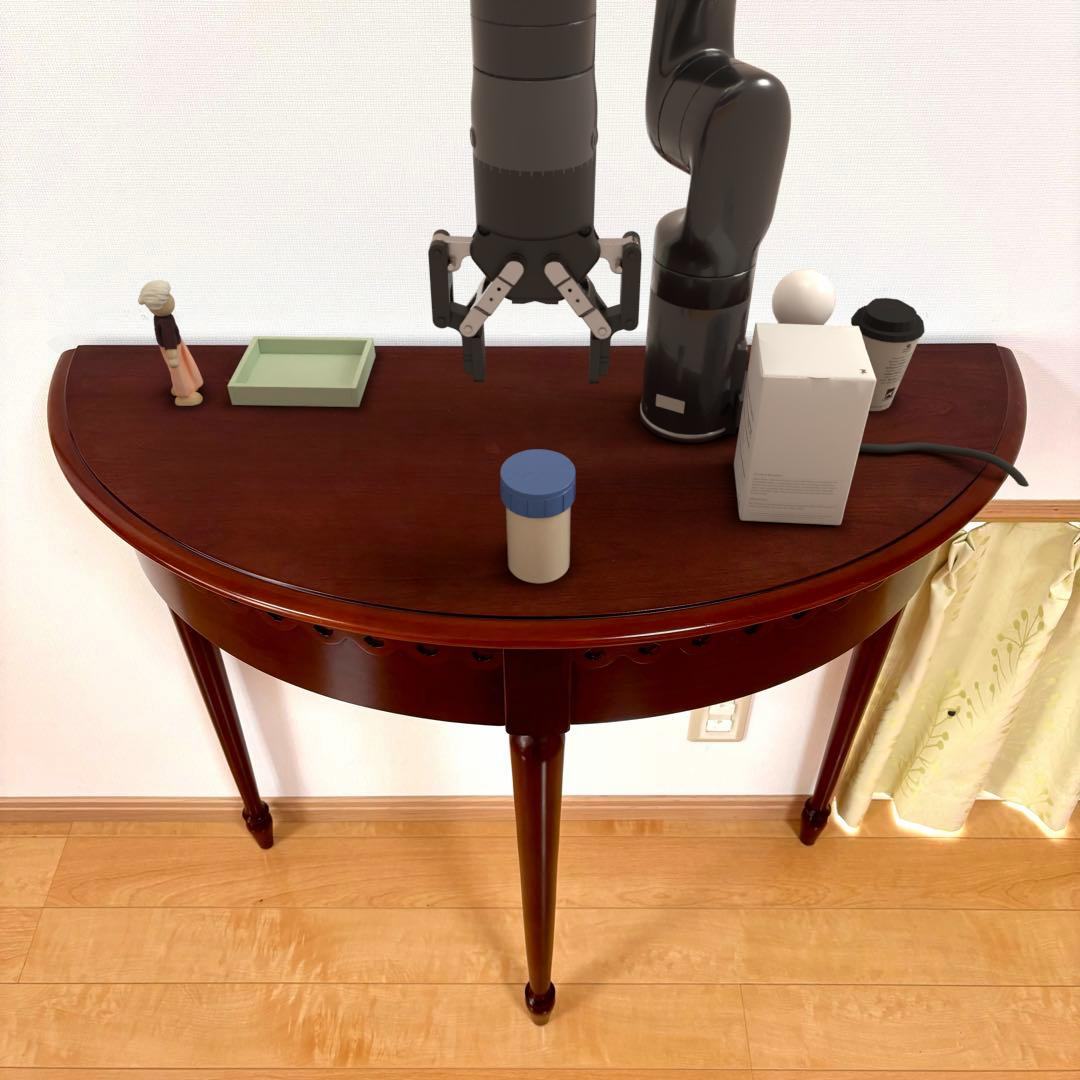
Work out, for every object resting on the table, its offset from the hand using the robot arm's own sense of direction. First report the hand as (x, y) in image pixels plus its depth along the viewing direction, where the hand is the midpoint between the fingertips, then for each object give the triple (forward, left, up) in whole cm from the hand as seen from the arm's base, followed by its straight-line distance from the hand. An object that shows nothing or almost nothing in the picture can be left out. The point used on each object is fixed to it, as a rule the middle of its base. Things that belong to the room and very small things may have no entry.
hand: (536, 377), depth 69 cm
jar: (0, 0, -18) cm, 18 cm away
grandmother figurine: (+38, -25, -18) cm, 49 cm away
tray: (+26, -28, -18) cm, 42 cm away
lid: (0, 0, -9) cm, 9 cm away
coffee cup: (-33, -26, -18) cm, 46 cm away
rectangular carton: (-22, -10, -18) cm, 30 cm away
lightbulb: (-26, -32, -18) cm, 45 cm away
